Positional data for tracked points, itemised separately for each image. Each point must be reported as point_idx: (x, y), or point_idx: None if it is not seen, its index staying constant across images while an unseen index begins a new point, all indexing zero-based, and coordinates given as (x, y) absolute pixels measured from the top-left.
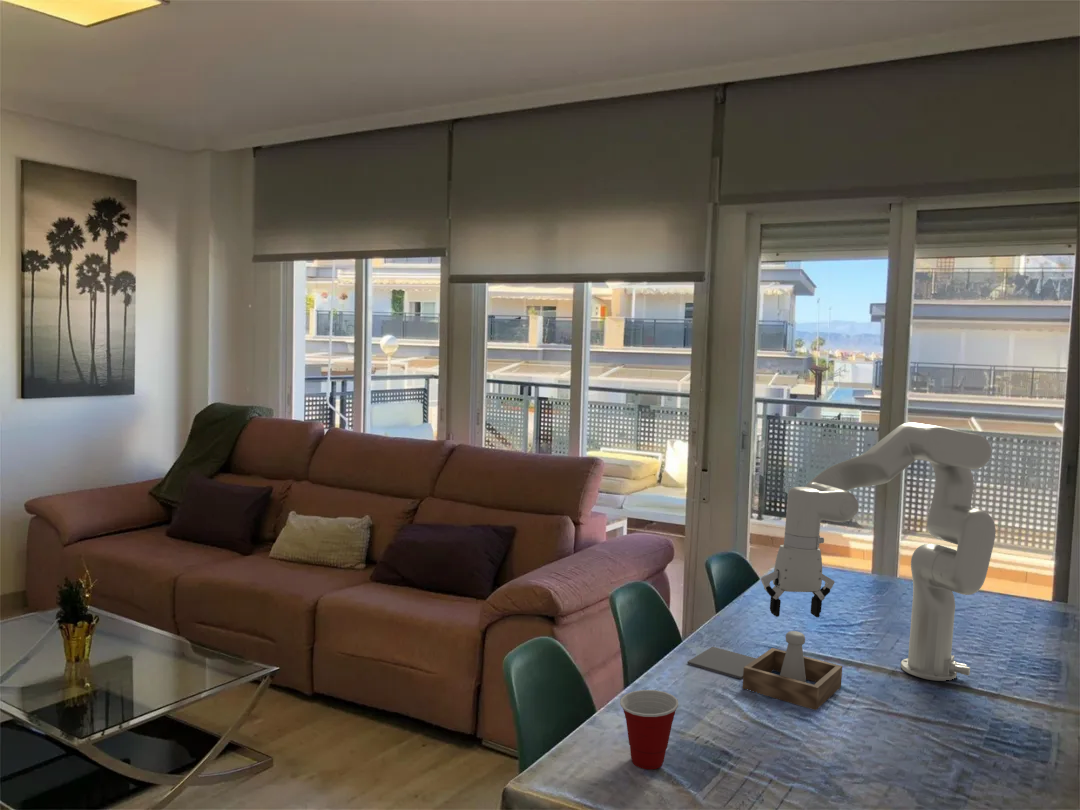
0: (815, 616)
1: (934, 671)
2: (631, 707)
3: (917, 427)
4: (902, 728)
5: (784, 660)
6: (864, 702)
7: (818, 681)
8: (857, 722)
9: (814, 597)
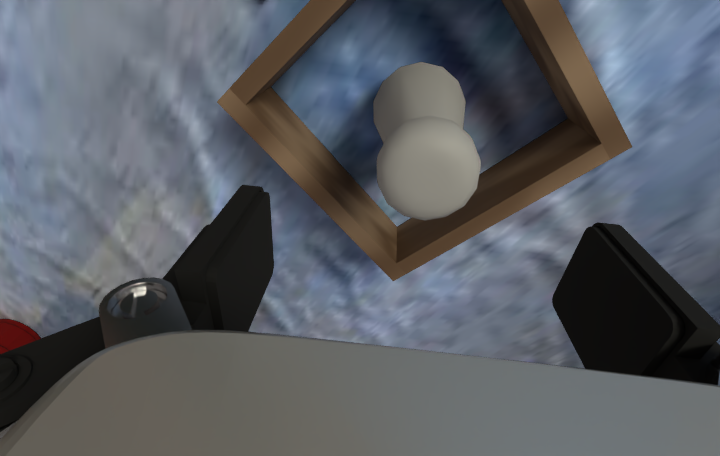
0: (556, 291)
1: None
2: None
3: None
4: (528, 336)
5: (381, 123)
6: (563, 227)
7: (426, 247)
8: (451, 302)
9: (668, 369)
